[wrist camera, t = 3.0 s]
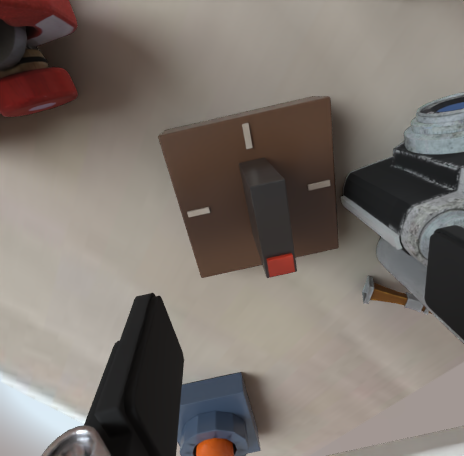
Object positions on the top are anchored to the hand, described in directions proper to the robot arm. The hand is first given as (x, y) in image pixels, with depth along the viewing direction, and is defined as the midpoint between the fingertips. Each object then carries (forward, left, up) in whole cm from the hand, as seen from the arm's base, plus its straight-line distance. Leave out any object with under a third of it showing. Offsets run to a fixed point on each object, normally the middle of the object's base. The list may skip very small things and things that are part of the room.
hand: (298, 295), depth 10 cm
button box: (+24, -8, -12) cm, 28 cm away
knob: (0, 0, -9) cm, 9 cm away
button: (+24, -8, -9) cm, 27 cm away
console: (0, 0, -12) cm, 12 cm away
